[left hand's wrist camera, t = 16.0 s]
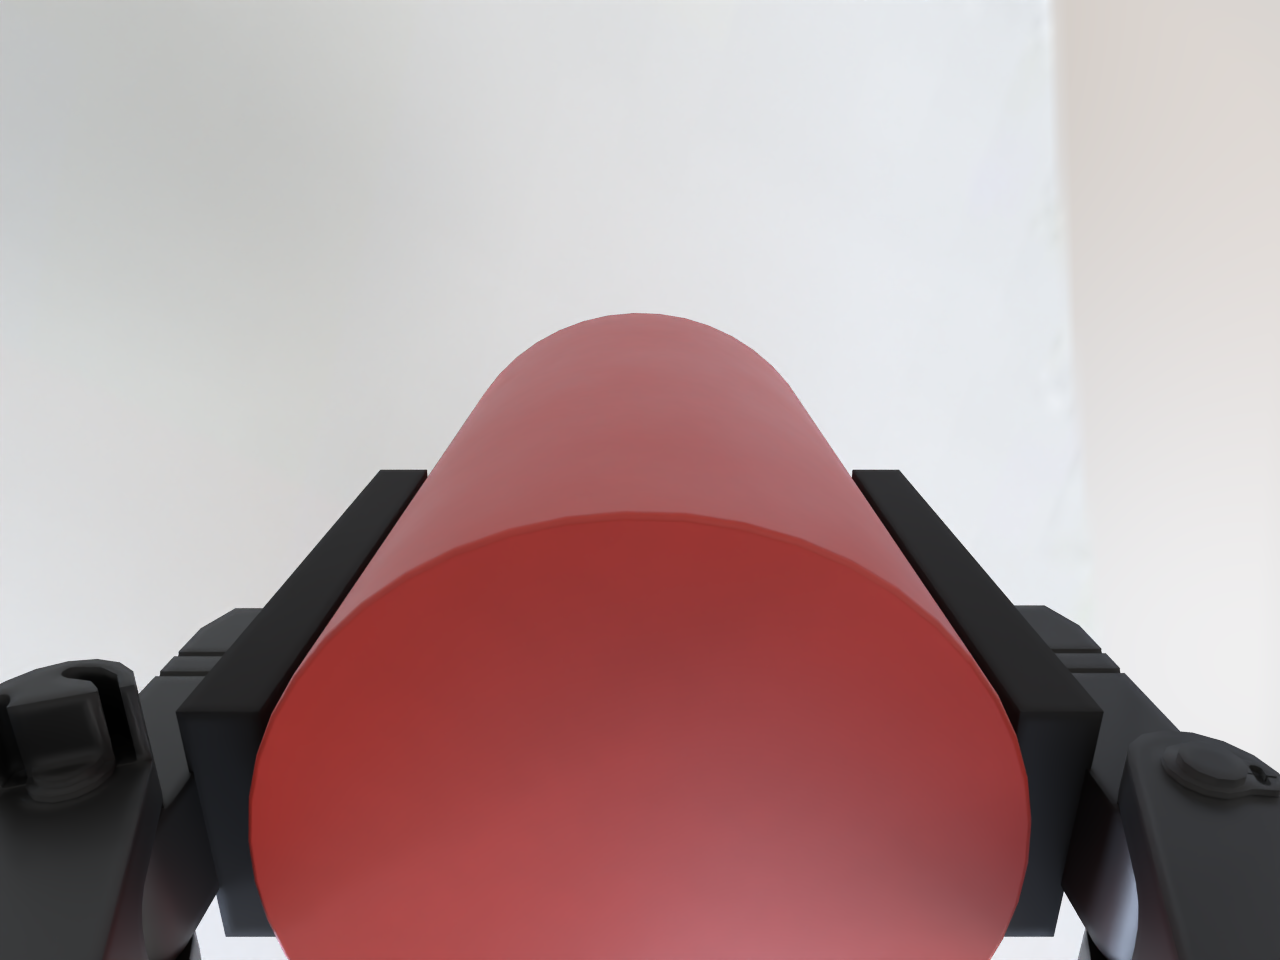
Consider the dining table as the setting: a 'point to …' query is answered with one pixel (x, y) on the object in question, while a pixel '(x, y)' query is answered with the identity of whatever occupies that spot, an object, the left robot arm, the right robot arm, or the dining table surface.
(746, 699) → the can
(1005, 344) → the dining table surface
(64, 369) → the dining table surface
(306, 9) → the dining table surface
